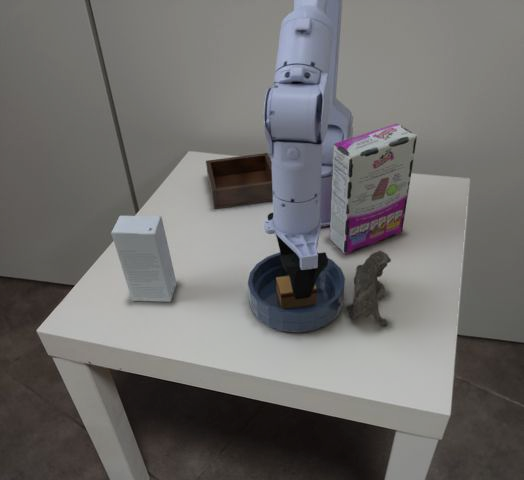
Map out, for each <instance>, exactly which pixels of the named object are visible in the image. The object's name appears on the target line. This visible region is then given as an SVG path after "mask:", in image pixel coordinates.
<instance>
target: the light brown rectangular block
mask: <svg viewBox="0 0 524 480" xmlns="http://www.w3.org/2000/svg"><path fill="white" fill-rule="evenodd" d="M276 287H277V296H278V300H279V303H280V306H281V309H288V308H295V307H301V306H308V305H314V304H316V297H317V287H316V285H315V286H314V288H313V291H312V294H311V296H310V297H309V298H302V299H295V297H294V294H293V291H292V286H291V281H290V277H289V276H282V277H276Z"/></svg>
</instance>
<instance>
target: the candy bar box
mask: <svg viewBox="0 0 524 480" xmlns="http://www.w3.org/2000/svg"><path fill="white" fill-rule="evenodd" d="M417 138H418V135H417V134H415V133H414V132H412V131H410V130H409V129H407V128H406V127H403V125H401V124H400V123H394V124H390V125H388V126H385V127H381V128H379V129H376V130H372V131H369V132H366V133H362V134H360V135H356V136H352V138H350V139H347V140H344V141H341V142H337V143H334V144H333V168H332V195H331V221H330V225H329V226H330V227H329V240H330V242H331V243H332V244H333V245H335V246H336V247H337V248H338V249H339V250H340V251H341V252H342V254H344V255H348V254H351V253H354V252H357V251H359V250H362V249H364V248H366V247H369V246H372V245H374V244H376V243H381V242H382V241H384V240H387V239H390V238H392V237H395V236H397V235H400V234H403V230H404V225H405V216H406V210H407V204H408V197H409V192H410V191H409V190H410V183H411V177H412V172H413V166H414V158H415V151H416V146H417V140H418V139H417Z"/></svg>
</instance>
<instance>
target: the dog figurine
mask: <svg viewBox="0 0 524 480" xmlns="http://www.w3.org/2000/svg"><path fill="white" fill-rule="evenodd" d="M390 262H392V258H391V257H390V256H389V255H388V253H385V252H384V251H382V250H377V251H375V252H373V253H371V254H370V255H369V256H368V257H367V258H366V259H365V260H364V262H363V263H362V264H358V265H356V267H355V275H354V278H353V284H354V287H353V288H354V289H353V291H354V298H353V300H352V304H349V305H348V306H347V307H346V309H347V311H348V312H349V315H351V318H352V320H354V319H356V318H357V317H358V316H359V314H362V315H363V317H365V318H370V317H371V316H372V318H373V319H374V321H375V322H376V323H378V324H379V325H383V326H387V325H388V324H389V322H388V320H387V319H386V318H383V317H382V316H381V313H380V309H379V300H381V298H384V297H385V296H386V295H387V291H386V288H385V285H384V284H383V283H381V281H379V279H378V278H380V277H382V276H383V273H384V269H385V268H387V266H388V264H389V263H390Z"/></svg>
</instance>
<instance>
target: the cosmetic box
mask: <svg viewBox="0 0 524 480" xmlns="http://www.w3.org/2000/svg"><path fill="white" fill-rule="evenodd" d="M112 228H113V229H111V232H110V234H111V237H112V240H113V244H114V247H115V249H116V253H117V256H118V260H119V263H120V266H121V269H122V273H123V275H124V279H125V283H126V286H127V289H128V292H129V295H130V299H131V301H133V302H165V303H166V302H168V303H169V302H172V299H173V296H174V293H175V290H176V288H177V287H176V286H177V278H176V274H175V270H174V266H173V261H172V256H171V251H170V248H169V244H168V239H167V236H166V235H167V234H166V230H165V225H164V221H163V217H162V215H119V216H118V219H117V221H116V222H115V224H114V227H112Z"/></svg>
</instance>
